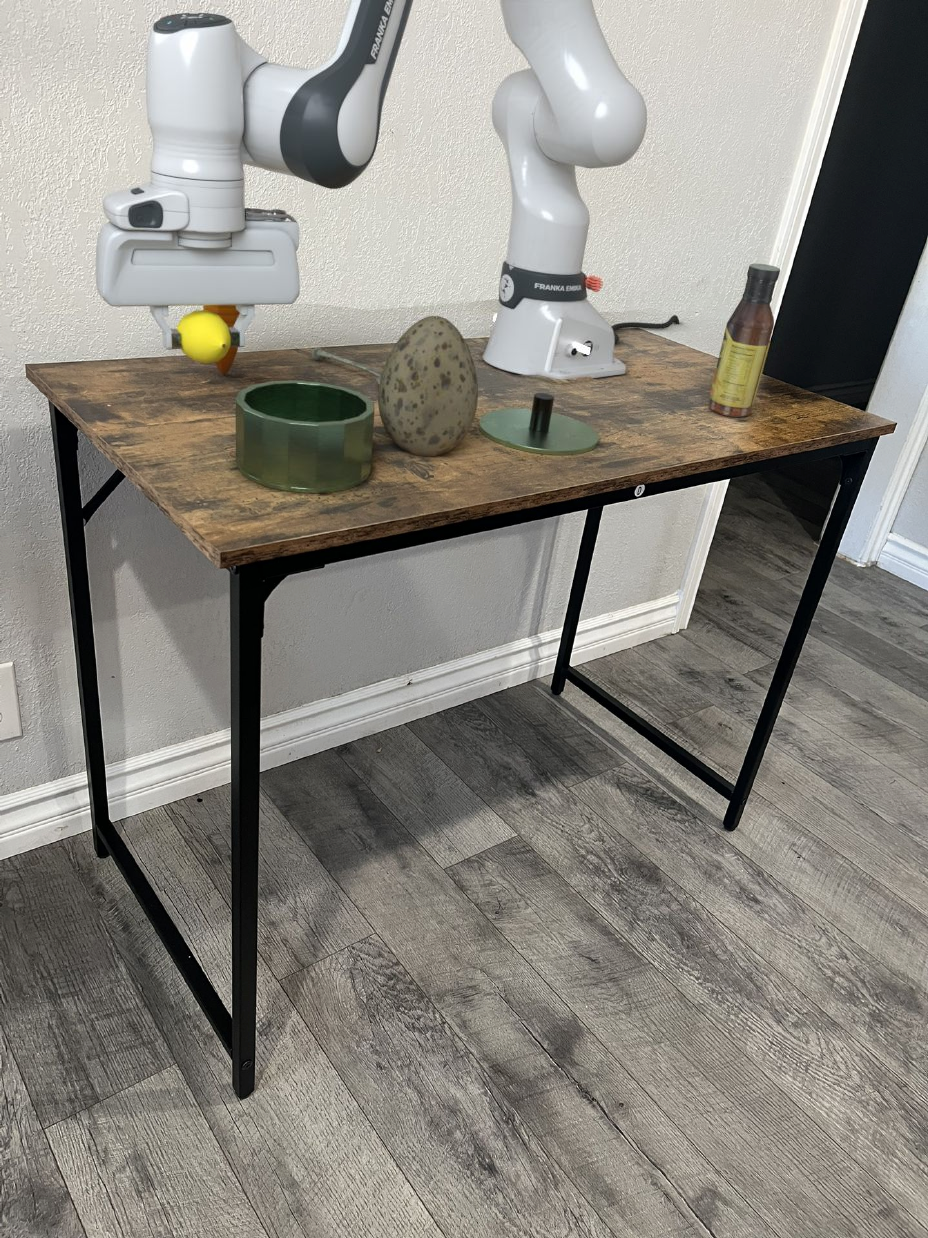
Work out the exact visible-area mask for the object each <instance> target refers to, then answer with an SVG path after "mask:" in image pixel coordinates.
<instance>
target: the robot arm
mask: <svg viewBox="0 0 928 1238" xmlns="http://www.w3.org/2000/svg"><path fill="white" fill-rule="evenodd" d="M498 1H499V6H500V10H501V15H502V19H503V24H504V25H503V26H504V29H505V32H506V34H507V37H508V38H509V40H510V41H511V43H512V44H513V45H514V46H515V48H517V49H518V51H519V52H520V53H521V54H522V55H523V57H524V59H525V60H526V61H527V64H528V65H529V67H530V68H525V69H522V70H518V71H515V72H512V73H511V74H509V75H507V76H506V77H505V78H503V80H502V81H501V82H500V83H499V84H498V87H497V88H496V90H495V92H494V95H493V98H492V103H491V121H492V125H493V128H494V131H495V134H496V135H497V137H498V138H499V140H500V142H501V144H502V146H503V149H504V152H505V156H506V162H507V165H508V174H509V180H510V187H511V188H510V191H511V214H510V224H509V225H510V226H509V232H508V242H507V251H506V258H505V259H506V260H504V261H503V262H502V266H501V272H500V278H499V286H498V288H499V289H498V306H497V309H496V313H495V314H494V315H493V319H492V322H493V326H492V329H491V334H490V335H489V338H488V342H487V344H486V347H485V349H484V352H483V353H482V359H483V361H484V362H486V364H489V365H490V366H493V367H495V368H497V369H500V370H503V371H506V372H510V373H513V374H519V375H523V376H537V375H538V376H542V377H545V378H550V379H554V380H559V381H560V380H562V381H563V380H564V381H565V380H573V379H580V378H581V379H582V378H588V377H589V378H591V379H598V378H603V377H604V378H605V377H611V376H619V375H625V374H626V373H627V366H626V365H625V363H624V362H622V360H620V359H618V358H617V357H615V355H614V354H615V344H617V343H618V342H619V341H620V337H619V335H618V334H617V332H616V331H618V330H621V329H629V328H630V329H631V328H632V329H633V328H635V329H647V330H649V329H650V330H651V329H652V330H662V329H663V330H664V329H667V328H669V327H670V326H672V325H673V324H674V325H680V319H679V317H678V315H676V314H673V315H672V316H671V317H670V318H669V319H668V320H667V321H666V322H663V323H661V322H660V323H652V322H651V323H650V322H640V321H639V322H637V321H635V322H634V321H631V322H630V321H629V322H621V323H615V324H613V325H611V324H610V323H609V322H608V321H607V320H606V319H605V318H604V317H603V316H602V315H601V313H600V312H599V311H598V310H597V309H596V307H595V306H594V305H593V304H592V303H591V302H590V301H589V300H588V292H587V290H591V291H592V292H594V293H598V292H600V291H601V290H602V289H603V287H604V281H603V279H602V278H600V277H598V276H595V275H592V274H591V275H589V276H587V275H586V274H585V273H584V272H583V264H584V258H585V252H586V245H587V239H588V234H589V228H590V222H591V220H590V219H591V218H590V215H591V214H590V211H589V208H588V206H587V204H586V203H585V201H584V200H583V198H582V196H581V194H580V191H579V186H578V182H577V176H576V167H580V168H584V169H603V168H611V167H618V166H621V165H623V164H625V163H627V162H628V161H630V160H631V159H632V158H633V157H634V156H635V154H636V153H637V151H638V150H639V149H640V147H641V145H642V143H643V141H644V138H645V134H646V130H647V127H648V126H647V125H648V110H647V106H646V101H645V99H644V97H643V94H642V93H641V92H640V91H639V89H638V88H637V87H635V85H633V83H632V82H630V80H629V79H628V78H627V77H626V75H625V74H624V72H623V71H622V70H621V68H620V66H619V65H618V62H617V61H616V59H615V56H614V55H613V53H612V50H611V49H610V46H609V44H608V42H607V39H606V37H605V35H604V33H603V31H602V28H601V25H600V23H599V20H598V17H597V14H596V10H595V7H594V2H593V0H498ZM413 3H414V0H349V3H348V8H347V11H346V13H345V17H344V20H343V24H342V27H341V30H340V33H339V37H338V40H337V44H336V46H335V50H334V52H333V55H332V56H331V57H330V58H329V59H328V60H326V61H325V62H324V63H322V64H320V65H317V66H315V67H311V68H305V67H297V66H292V65H284V64H281V63H275V62H270V59H269V58H267V57H265V56H263V55H262V54H261V53H259V52H257V51H256V50H255V49H254V48H253V47H251V46H250V45H249V44H248V43H247V42H246V41H245V40H244V39H243V37H242V36H241V35H240V34H239V32H238V31H237V28H236V25H235V22H234V21H233V19H231V18H229V17H226V16H225V15H221V14H218V13H209V12H198V13H190V12H183V13H174V14H173V13H172V14H168V15H165V16H163V17H160V19H158V20H157V21H156V22H154V23H153V25H152V26H151V29H150V32H149V35H148V41H147V44H146V45H147V46H146V53H145V54H146V55H145V57H146V58H145V99H146V101H145V102H146V103H145V104H146V117H147V124H148V126H149V129H150V132H151V137H152V154H151V159H150V163H149V170H150V171H149V174H150V181H147V182H145V183H140V184H138V185H135V186H132V187H129V188H128V187H127V188H125V189H121V190H118V191H114V192H111V193H108V194H106V195H105V196H104V197H103V198H102V211H103V214H104V216H105V218H106V219H107V220H108V221H107V222H105V223H104V224H103V226H102V227H101V228H100V229H99V231H98V235H97V240H96V249H95V281H96V282H95V283H96V285H95V286H96V290H97V293H98V295H99V296H100V297H101V299H102V300H103V301H104V302H106V304H108V305H109V306H110V307H114V308H115V307H116V308H117V307H119V308H121V307H149V313H150V315H151V316H152V317H153V319H154V321H155V322H156V324H157V325H158V326H159V328H160V330H161V331H162V334H161V335H162V344H163V347H164V349H165V350H169V351H172V350H181V343H180V340H181V333H180V332H179V331H178V330H177V329H176V328H171V327H170V325H169V324H168V323H167V321H166V320H165V317H166V318H167V317H169V315H170V313H169V307H188V306H189V307H190V306H196V307H197V306H203V305H236V310H237V311H238V312H240V314H239V316H238V318H237V320H236V322H235V324H234V326H233V327H228V330H229V333H230V336H231V345H230V347H238V348H244V347H245V332H246V331H247V330H248V328H249V326H250V324H251V323H252V321H253V319H254V317H255V315H256V314H255V313H256V311H255V309H256V308H255V306H261V305H262V306H264V305H265V306H266V305H267V306H268V305H272V306H273V305H293V304H294V303H295V302H296V301H297V299H298V298H299V296H300V293H301V290H300V289H301V285H300V283H301V282H300V273H299V272H300V271H299V270H300V269H299V263H298V262H299V261H298V256H297V251H298V249H299V247H300V226H299V224H298V221H297V220H296V219H295V217H293V216H292V215H291V214H289V213H287V211H286V210H284V209H278V208H274V209H263V208H255V207H254V208H249V207H246V189H245V188H246V186H245V185H246V183H245V182H246V181H245V176H246V175H245V169H244V165H245V166H249V167H254V168H258V169H262V170H265V171H267V172H272V173H275V174H282V175H286V176H291V177H294V178H295V177H296V178H298V179H301V180H303V181H306V182H309V183H312V184H314V185H318V186H320V187H323V188H325V189H329V190H339V189H343V188H345V187H347V186H349V185H351V184H352V183H353V182H355V180H356V179H358V178H359V177H360V176H361V175H362V174H363V173H364V171H366V169H367V168H368V167H369V165H370V164H371V162H372V160H373V157H374V155H375V153H376V149H377V145H378V141H379V136H380V128H381V120H382V113H383V106H384V101H385V98H386V94H387V91H388V87H389V85H390V82H391V81H390V80H391V77H392V74H393V72H394V67H395V65H396V61H397V58H398V55H399V50H400V47H401V45H402V41H403V39H404V38H403V37H404V34H405V30H406V28H407V24H408V21H409V17H410V13H411V10H412V7H413Z"/></svg>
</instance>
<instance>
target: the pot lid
mask: <svg viewBox="0 0 928 1238" xmlns="http://www.w3.org/2000/svg"><path fill="white" fill-rule="evenodd" d="M554 401H555V396H554V395H552V394H549V393H545V392H537V393H534V394H533V400H532V407H531V409H530V408H503V409H497V410H492V411H489V412H487V413H484V414H483V415H481V416H480V418H479V419H478V420H479V421H478V429H479V431H480V432H481V433H482V435H484V436H485V437H486V438H488V439H489V440H491V441H493V442H495V443H497V444H500V445H501V446H505V447H507V448H510V449H513V450H514V449H515V450H519V451H523V452H526V453H531V454H538V455H549V456H550V455H551V456H573V455H580V454H584V453H587V452H590V451H592V450H594V449H595V448H596V447H597V446H598V443H599V440H600V437H599V436H600V435H599V434H598V432H597V431H596V430H595V429H594V428H593V427H592V426H590V425H589V424H587V423H584V422H583V421H580V420H578V419H575V418H573V417H570V416H567V415H562V414H559V413H556V412H553V408H554Z"/></svg>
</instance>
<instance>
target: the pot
mask: <svg viewBox="0 0 928 1238" xmlns="http://www.w3.org/2000/svg"><path fill="white" fill-rule="evenodd" d="M374 424H375V403H374V401H372V400H371V399H369V398H368V397H367V396H366V395H365V394H363V393H360V392H358V391H356V390H352V389H350V388H347V387H345V386H339V385H335V384H330V383H324V382H317V381H306V380H305V381H304V380H272V381H271V380H270V381H266V382H261V383H255V384H251V385H248V386H247V387H245V388H243V389H241V390H240V391H238V392H237V395H236V398H235V463H236V467H237V470H238V471H239V473H240V474H241V475H242V476H243V477H245V478H246V479H247V480H249V481H251V482H253V483H255V484H257V485H260V486H263V487H265V488H269V489H270V488H271V489H274V490H279V491H283V492H290V493H302V494H324V493H325V494H326V493H334V492H339V491H346V490H348V489H349V490H350V489H352V488H354V487H358V486H359V485H361V484H363V483H364V482H365V481H366V480H367V479H368V478H369V476H370V472H371V467H372V454H373V453H372V452H373V442H374V441H373V439H374V427H375V425H374Z"/></svg>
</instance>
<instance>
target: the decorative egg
mask: <svg viewBox="0 0 928 1238" xmlns="http://www.w3.org/2000/svg"><path fill="white" fill-rule="evenodd" d="M381 373H382V375H381V379H380V384H378V391H377V392H378V393H377V397H378V398H377V406H378V411H379V417H380V419H381V423H382V425H383V427H384V429H385V431H386V433H387V434H388V436H389V437H390V439H391V440H392V441H393V442H394V443H395V445H396V446H398V447H399V448H401V449H402V450H403V451H404V452H406V453H408V454H411V455H415V456H419V457H436V456H439V455H443V454H445V453H447V452H449V451H451V450H452V449H454V448H455V447H456V446H458V445H459V444H460V443H461V442H462V441H463V439H464V438H465V437H466V436H467V434H468V432H469V431H470V429H471V427H472V425H473V423H474V420H475V416H476V413H477V408H478V402H479V401H478V399H479V383H478V375H477V370H476V366H475V362H474V359H473V356H472V353H471V351H470V347H469V345H468V344H467V342H466V340H465V338H464V336H463V335H462V333H461V331H460V330H459V329H458V328H457V327H456V326H455V325H454V323H453V322H451V321H450V320H448V319H447V318H445V317H443V316H439V315H429V316H426V317H424V318H421V319H420V320H418V321H416V322H415V323H414V324H412V325H411V326H410V327H409V328H408V329H407V330H406V331H405V332H404V333H403V334H402V335H401V336H400V338H399V339H398V340H397V341H396V343H395V344H394V346H393V347H392V349H391V351H390V352H389V354H388V356H387V358H386V361H385V363H384V366H383V369H382V371H381Z"/></svg>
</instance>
